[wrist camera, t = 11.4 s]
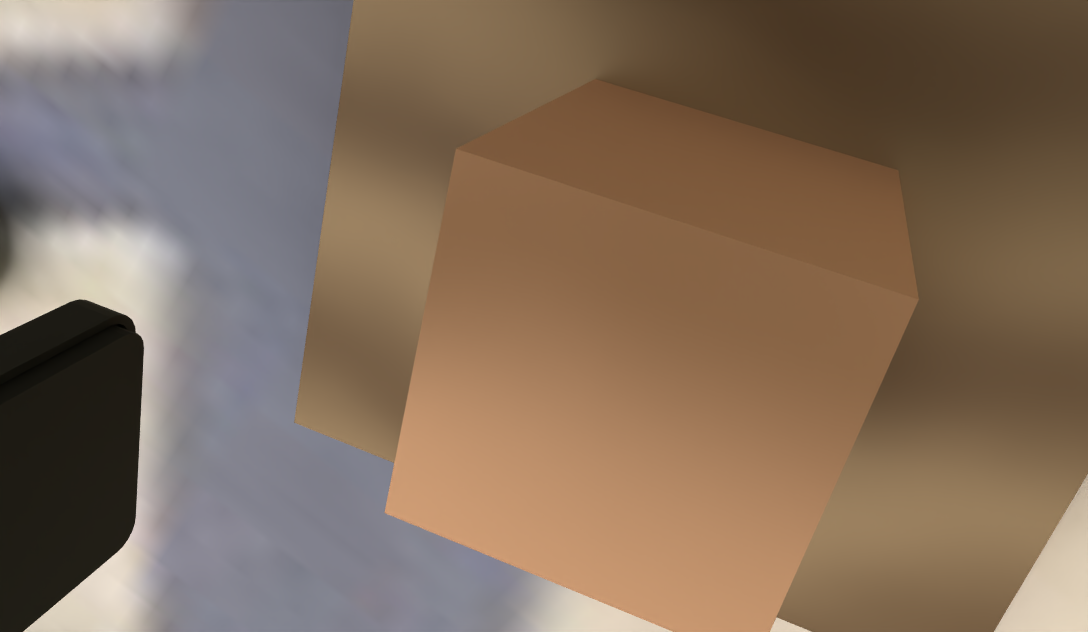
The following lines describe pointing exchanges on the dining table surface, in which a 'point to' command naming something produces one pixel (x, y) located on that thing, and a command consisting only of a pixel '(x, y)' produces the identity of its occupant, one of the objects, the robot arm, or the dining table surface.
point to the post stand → (816, 118)
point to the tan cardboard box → (650, 352)
